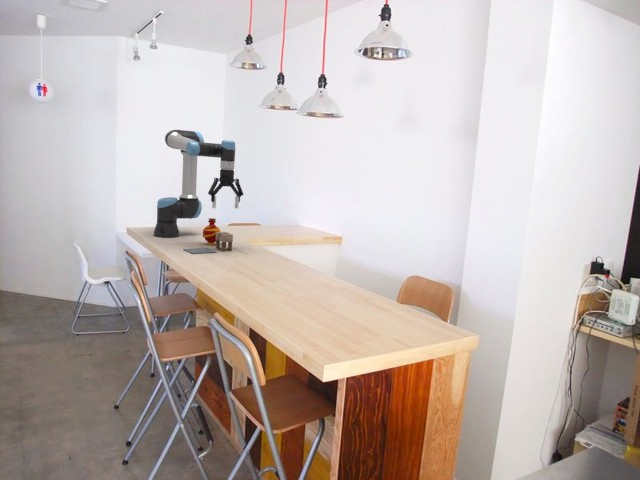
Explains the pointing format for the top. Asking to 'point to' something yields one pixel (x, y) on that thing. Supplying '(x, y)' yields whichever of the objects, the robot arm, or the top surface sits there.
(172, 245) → the top surface
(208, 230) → the potion bottle
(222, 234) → the footstool
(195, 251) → the mat
